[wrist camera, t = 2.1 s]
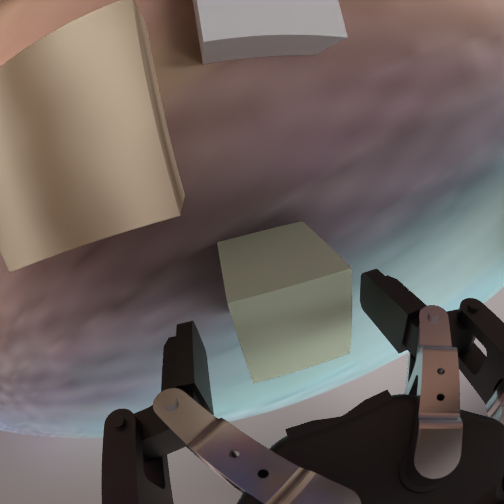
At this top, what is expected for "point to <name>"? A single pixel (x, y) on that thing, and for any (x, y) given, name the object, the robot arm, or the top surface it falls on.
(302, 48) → the grey block
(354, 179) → the top surface
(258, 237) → the sage block
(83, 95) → the maple block
